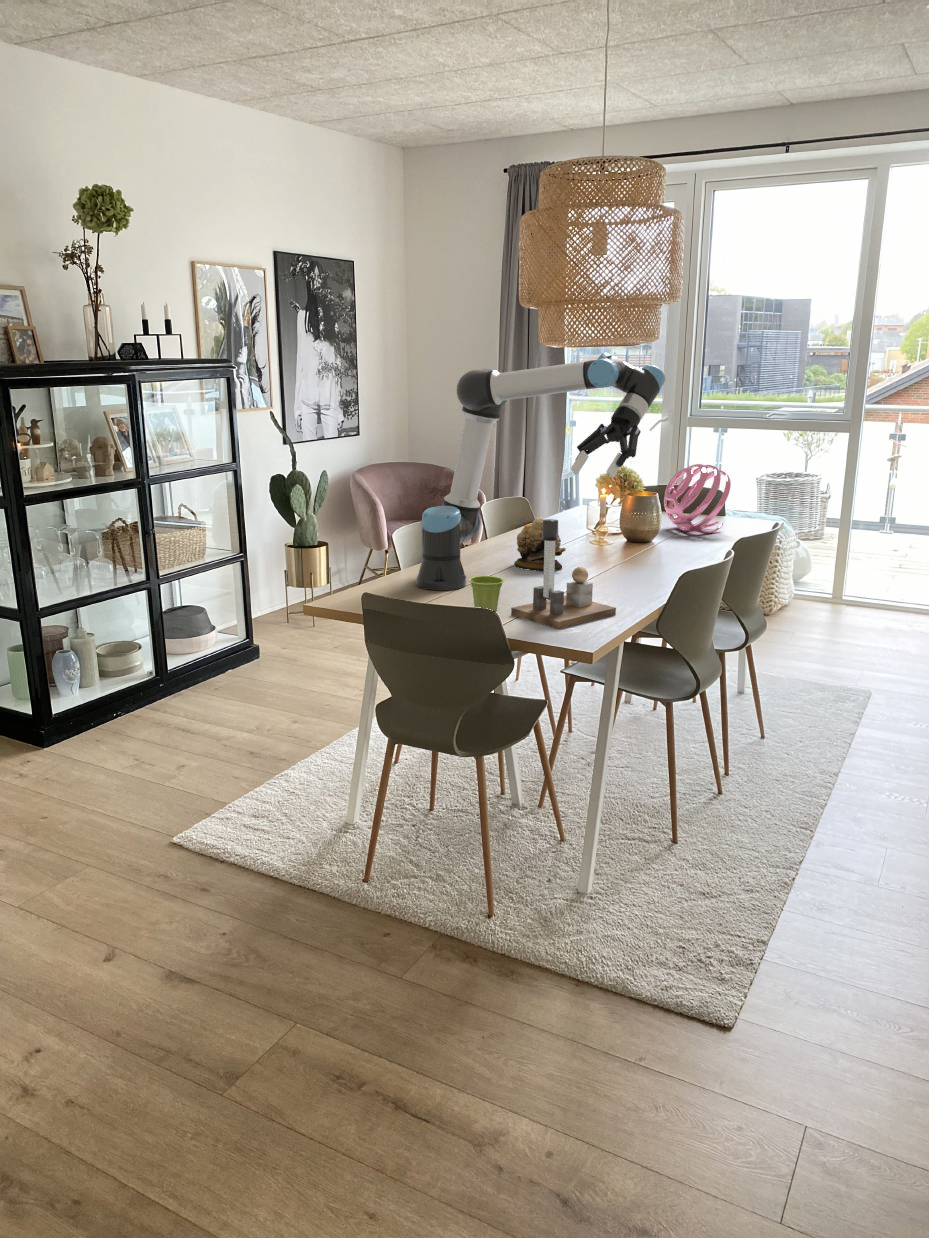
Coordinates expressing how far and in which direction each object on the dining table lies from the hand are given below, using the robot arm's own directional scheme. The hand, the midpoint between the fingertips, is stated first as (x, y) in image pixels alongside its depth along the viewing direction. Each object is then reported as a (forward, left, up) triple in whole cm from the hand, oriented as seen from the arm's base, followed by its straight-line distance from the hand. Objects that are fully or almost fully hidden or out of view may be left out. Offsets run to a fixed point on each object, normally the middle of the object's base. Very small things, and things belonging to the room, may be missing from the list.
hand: (591, 473), depth 259 cm
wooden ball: (+5, -8, -29) cm, 30 cm away
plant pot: (-12, -27, -37) cm, 48 cm away
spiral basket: (-50, +117, -37) cm, 132 cm away
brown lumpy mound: (-42, +23, -37) cm, 61 cm away
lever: (+5, -20, -31) cm, 37 cm away
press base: (+5, -14, -37) cm, 40 cm away
